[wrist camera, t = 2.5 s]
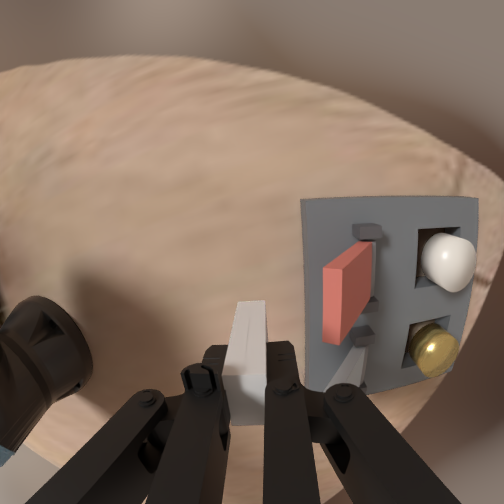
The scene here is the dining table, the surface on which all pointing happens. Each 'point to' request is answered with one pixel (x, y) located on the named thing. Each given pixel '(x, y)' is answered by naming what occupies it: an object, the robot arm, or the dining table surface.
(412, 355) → the button brass
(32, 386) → the robot arm
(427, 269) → the button white
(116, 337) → the dining table surface
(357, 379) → the paddle grey
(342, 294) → the paddle red
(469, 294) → the panel
